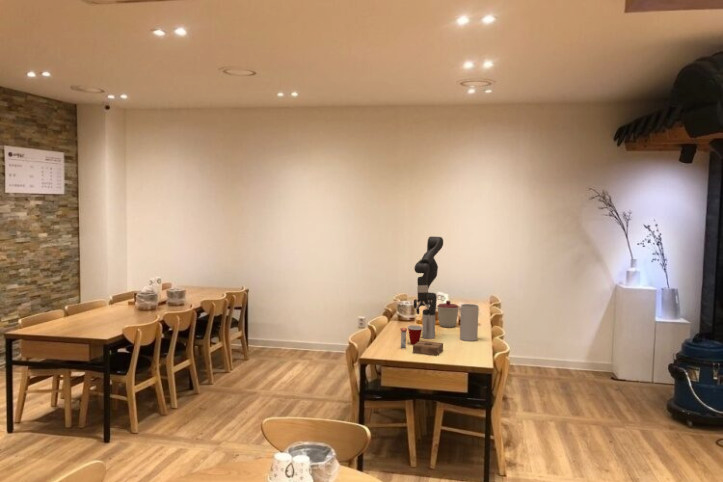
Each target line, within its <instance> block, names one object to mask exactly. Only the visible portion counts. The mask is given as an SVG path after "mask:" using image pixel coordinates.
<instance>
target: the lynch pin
mask: <svg viewBox="0 0 723 482" xmlns="http://www.w3.org/2000/svg"><path fill="white" fill-rule="evenodd" d="M399 331H400V349H402V348H405V349H406V347H407V345H406V344H407V331H408V327H407V328H406V327H401V328H400V329H399Z"/></svg>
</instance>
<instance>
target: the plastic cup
mask: <svg viewBox="0 0 723 482" xmlns="http://www.w3.org/2000/svg"><path fill="white" fill-rule="evenodd" d="M422 329H423V326H421V325H416V324H413V325H412V324H411V325H407V331H408V335H409V342H410V344H411V345H414V344H416V343H417V342H419V341H421V340H420V339H421V336H422V335H421V334H422Z"/></svg>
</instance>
